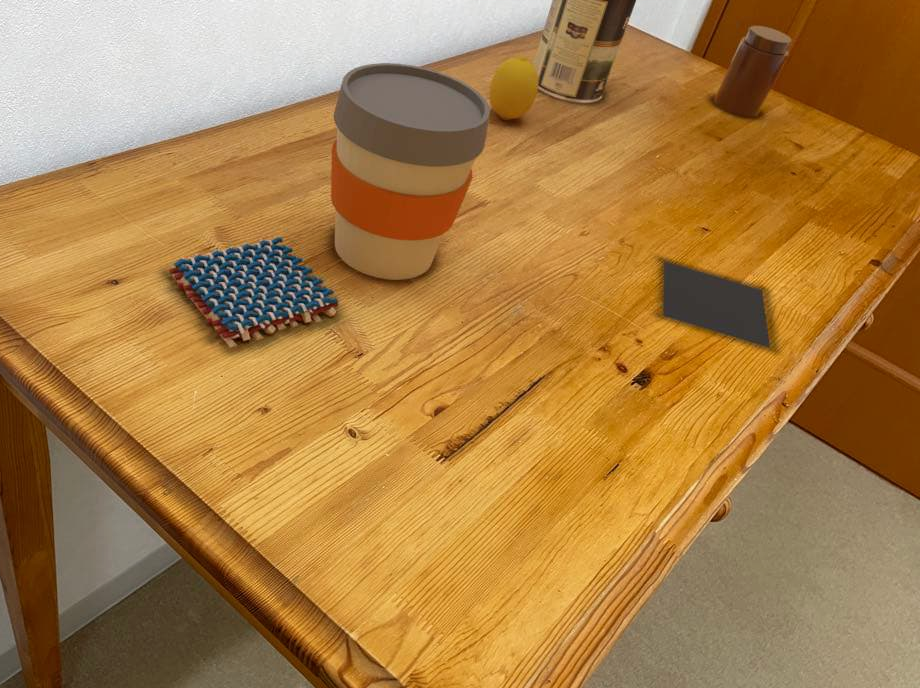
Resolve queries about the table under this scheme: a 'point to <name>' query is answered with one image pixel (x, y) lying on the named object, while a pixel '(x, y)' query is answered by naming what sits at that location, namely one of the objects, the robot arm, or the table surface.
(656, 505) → the table surface
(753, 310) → the coaster
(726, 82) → the jar
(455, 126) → the reusable coffee cup
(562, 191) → the table surface
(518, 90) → the lemon
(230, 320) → the woven mat
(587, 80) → the coffee can
